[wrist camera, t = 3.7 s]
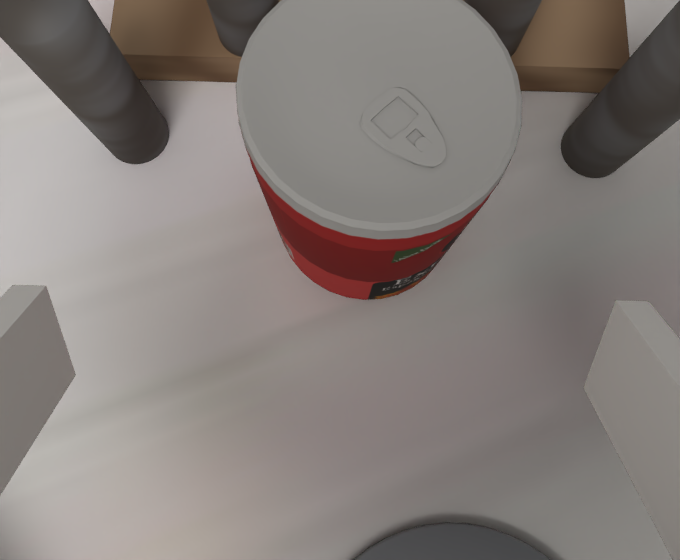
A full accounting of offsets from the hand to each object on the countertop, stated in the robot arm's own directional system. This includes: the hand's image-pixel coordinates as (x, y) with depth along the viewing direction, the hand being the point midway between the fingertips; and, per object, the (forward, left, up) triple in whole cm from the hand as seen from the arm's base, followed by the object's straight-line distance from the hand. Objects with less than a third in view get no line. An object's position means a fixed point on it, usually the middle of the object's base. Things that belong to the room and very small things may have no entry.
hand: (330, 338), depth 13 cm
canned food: (-6, -4, -11) cm, 13 cm away
